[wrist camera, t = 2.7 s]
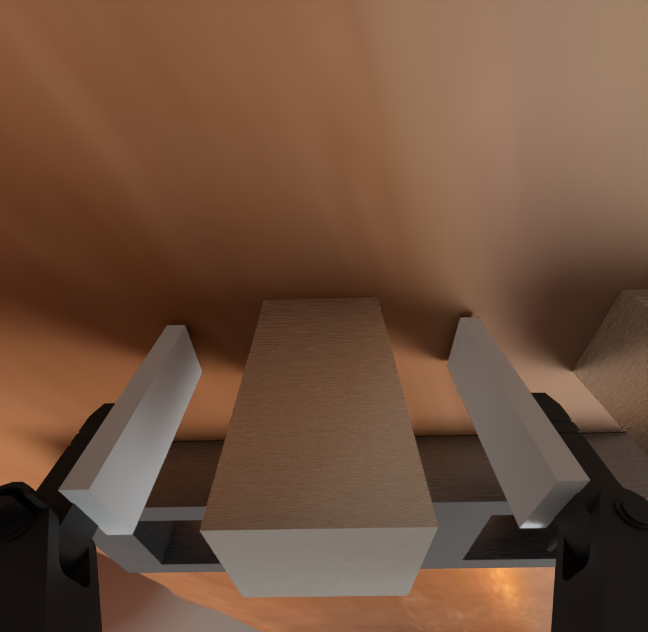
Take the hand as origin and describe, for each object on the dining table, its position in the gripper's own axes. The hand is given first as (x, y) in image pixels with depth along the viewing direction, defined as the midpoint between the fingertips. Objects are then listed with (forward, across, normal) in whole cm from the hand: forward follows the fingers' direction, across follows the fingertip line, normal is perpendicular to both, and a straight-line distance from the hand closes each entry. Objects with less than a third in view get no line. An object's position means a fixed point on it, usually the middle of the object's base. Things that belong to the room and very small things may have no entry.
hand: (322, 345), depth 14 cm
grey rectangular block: (0, 0, 0) cm, 0 cm away
